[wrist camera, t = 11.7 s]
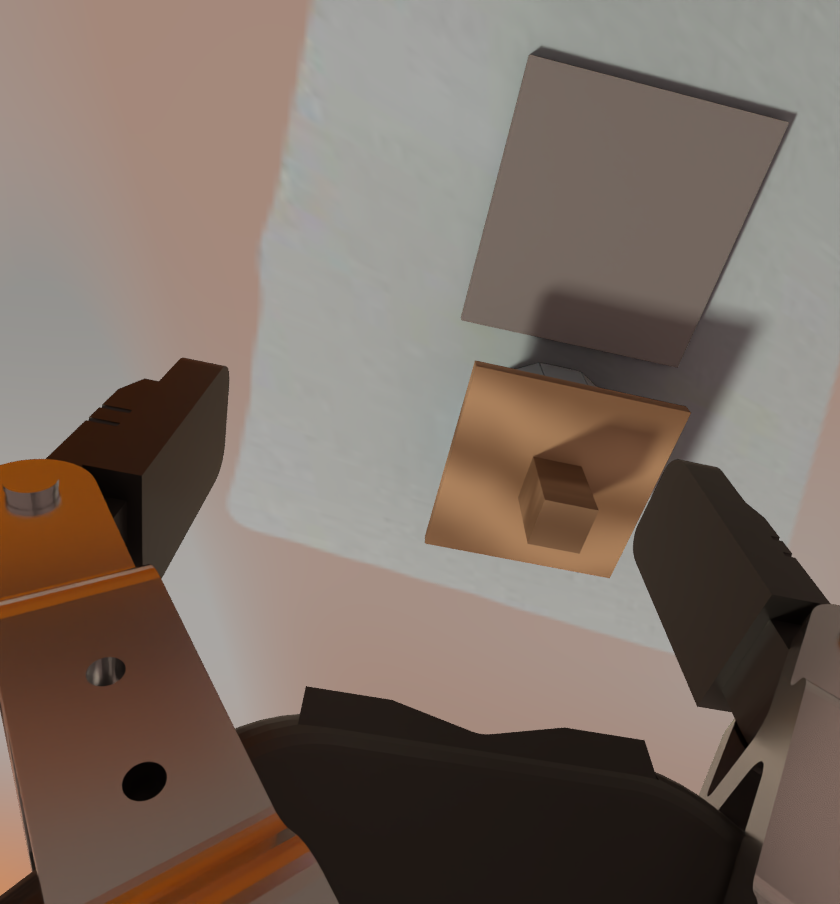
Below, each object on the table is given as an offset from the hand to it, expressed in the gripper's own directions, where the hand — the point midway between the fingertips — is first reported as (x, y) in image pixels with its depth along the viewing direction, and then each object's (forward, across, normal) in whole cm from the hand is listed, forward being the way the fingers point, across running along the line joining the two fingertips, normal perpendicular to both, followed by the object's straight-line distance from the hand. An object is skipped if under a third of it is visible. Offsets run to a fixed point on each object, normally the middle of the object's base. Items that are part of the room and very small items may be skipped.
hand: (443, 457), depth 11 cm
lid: (+23, -10, +13) cm, 28 cm away
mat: (+28, -10, -1) cm, 30 cm away
